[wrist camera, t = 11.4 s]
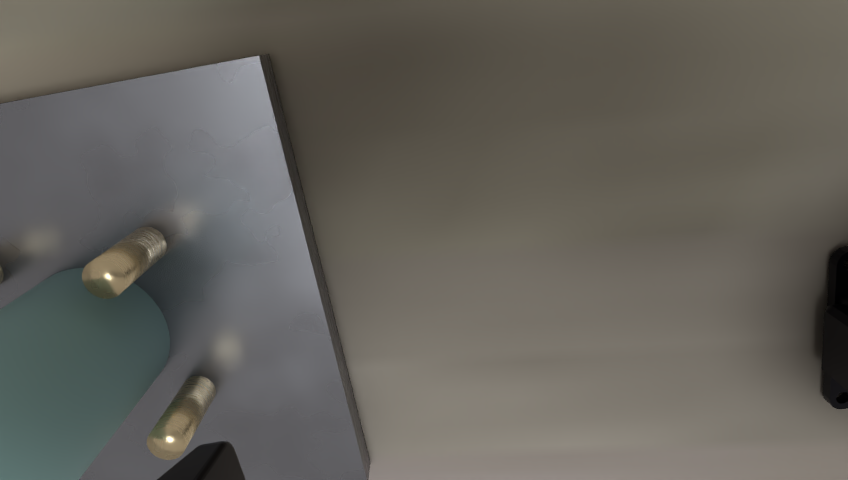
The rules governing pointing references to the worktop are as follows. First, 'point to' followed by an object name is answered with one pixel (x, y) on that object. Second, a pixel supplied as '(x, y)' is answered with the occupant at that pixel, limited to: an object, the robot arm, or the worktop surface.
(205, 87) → the metal base plate
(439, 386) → the worktop surface
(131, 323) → the post
